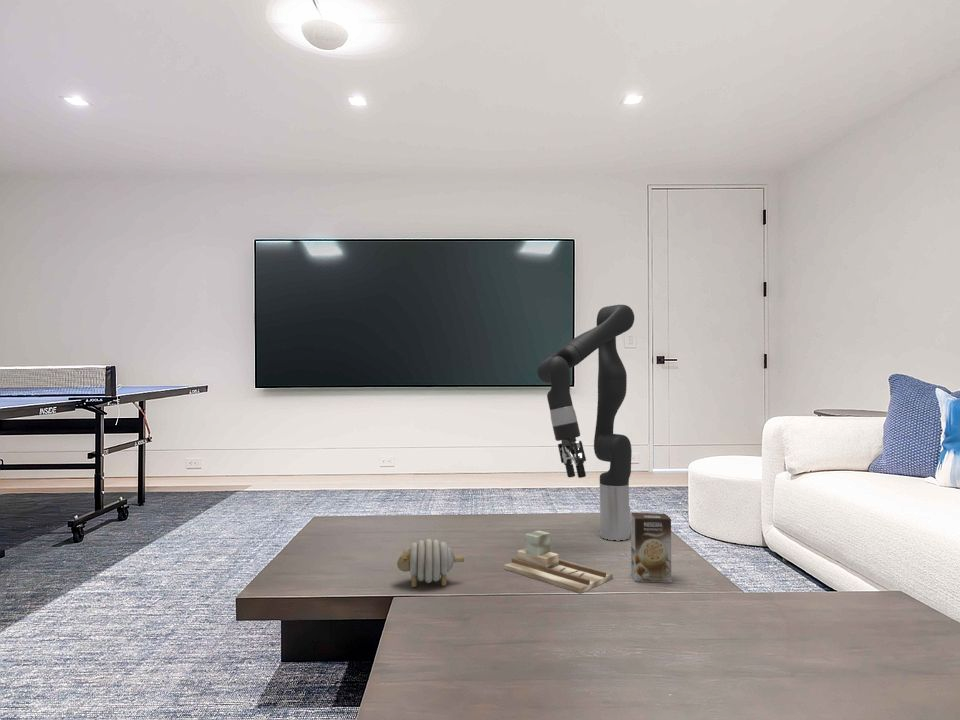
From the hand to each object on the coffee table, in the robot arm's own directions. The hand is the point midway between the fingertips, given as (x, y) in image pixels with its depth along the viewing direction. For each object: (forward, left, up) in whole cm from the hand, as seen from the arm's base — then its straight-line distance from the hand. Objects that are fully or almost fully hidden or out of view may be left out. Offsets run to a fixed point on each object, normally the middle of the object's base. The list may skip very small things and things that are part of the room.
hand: (576, 477), depth 168 cm
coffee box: (+4, +26, -23) cm, 34 cm away
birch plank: (+18, +6, -22) cm, 29 cm away
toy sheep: (+46, -12, -23) cm, 53 cm away
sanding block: (+18, 0, -21) cm, 28 cm away
